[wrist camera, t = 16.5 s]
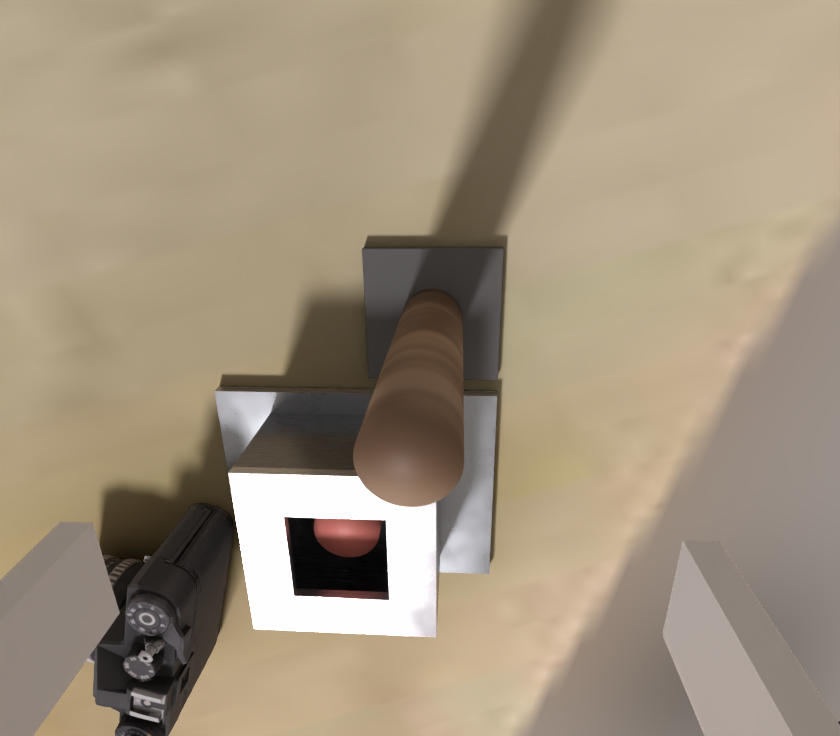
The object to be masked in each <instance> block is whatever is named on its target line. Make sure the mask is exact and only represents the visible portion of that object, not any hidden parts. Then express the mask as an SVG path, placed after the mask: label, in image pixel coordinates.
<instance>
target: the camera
mask: <svg viewBox="0 0 840 736" xmlns="http://www.w3.org/2000/svg"><path fill="white" fill-rule="evenodd" d="M233 529H234V523H233V520H232V518H231V517H230V515H229V514H228V513H227V512H226V511H224V510H223V509H221V508H219V507H216V506H212V505H209V504H205V503H198V504H194V505H193V506H190V507H189V510H188V511H187V513H186V514H185V515H184V517H183V518H182V520H181V521H180V522H179V523H178V524H177V525H176V527H175V528H174V529H173V531H172V532H171V533H170V534H169V536H168V537H167V538H166V539H165V541H164V542H163V543H162V544H161V546H160V547H159V548H158V549H157V551H156V552H155V553H154V554H153V555H152V556H145V557H144V560H143V562H145V563H143V562H142V561H141V560H137V559H132V558H129V559H118V558H117V557H115V556H111V555H103V559H104V562H105V566H106V569H107V572H108V576H109V579H110V582H111V586H112V589H113V592H114V595H115V599H116V602H117V605H118V609H119V612H120V614H119V615H118V616H117V618H116V619H115V621H114V622H113V623H112V625H111V626H110V628H109V629H108V631H107V632H106V633H105V635H104V636H103V638H102V639H101V640H100V642H99V643H98V645H97V646H96V648H95V649H94V650H93V652H92V653H91V655H90V656H89V657H88V659H87V660H86V661H88V662H92V663H94V684H93V696H94V697H95V702H96V705H100V706H104V707H111V708H113V709H115V710H117V711H119V712H120V722H119V725H118V727H117V728H116V730H115V736H168V735H169V733H170V732H171V730H172V728H173V726H174V724H175V723H176V721H177V719H178V717H179V715H180V712H181V710H182V708H183V706H184V704H185V702H186V700H187V698H188V697H189V695H190V693H191V691H192V689H193V687H194V685H195V683H196V681H197V679H198V678H199V676H200V674H201V672H202V670H203V668H204V666H205V664H206V662H207V660H208V658H209V656H210V655H211V653H212V650H213V648H214V646H215V644H216V641H217V637H218V633H219V625H220V619H221V611H222V605H223V598H224V593H225V586H226V580H227V573H228V567H229V560H230V554H231V546H232V539H233ZM147 559H148V560H147Z"/></svg>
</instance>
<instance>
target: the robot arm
mask: <svg viewBox="0 0 840 736" xmlns="http://www.w3.org/2000/svg"><path fill="white" fill-rule="evenodd" d="M119 614H120V612H119V609H118V605H117V602H116V599H115V595H114V592H113V589H112V586H111V582H110V579H109V576H108V572H107V569H106V566H105V562H104V559H103V556H102V552H101V549H100V546H99V542H98V539H97V536H96V532H95V529H94V526H93V523H83V522H60V523H59V524H58V525H57V526H56V527H55V528H54V529H53V530H52V531H51V532H49V533H48V534H47V535H46V536H45V537H44V538H43V539H42V540H41V541H40V542H39V543H38V544H37V545H36V546H35V547H34V548H33V549H32V550H31V551H30V552H29V553H28V554H27V555H26V556H25V557H24V558H23V559H22V560H21V561H20V562H19V563H18V564H17V565H16V566H15V567H13V568H12V569H11V570H10V571H9V572H8V573H7V574H6V575H5V576H4V577H3V578H2V579H1V580H0V736H33V735H34V734H35V733H36V731H37V730H38V728H39V727H40V725H41V724H42V723H43V721H44V720H45V718H46V717H47V716H48V714H49V713H50V711H51V710H52V708H53V707H54V706H55V704H56V703H57V701H58V700H59V699H60V697H61V696H62V694H63V693H64V691H65V690H66V689H67V687H68V686H69V684H70V683H71V682H72V680H73V679H74V677H75V676H76V674H77V673H78V672H79V670H80V669H81V667H82V666H83V665H84V663H85V662H86V660H87V659H88V657H89V656H90V655H91V653H92V652H93V650H94V649H95V648H96V646H97V645H98V643H99V642H100V640H101V639H102V638H103V636H104V635H105V633H106V632H107V631H108V629H109V628H110V626H111V625H112V623H113V622H114V621H115V619H116V618H117V616H118V615H119ZM663 637H664V639H665V642H666V644H667V647H668V649H669V652H670V654H671V656H672V659H673V661H674V664H675V666H676V669H677V671H678V673H679V675H680V678H681V680H682V683H683V685H684V688H685V690H686V692H687V695H688V697H689V700H690V702H691V704H692V707H693V709H694V712H695V714H696V717H697V719H698V721H699V724H700V726H701V729H702V731H703V733H704V736H840V722H838V721H837V720H836V718H835V717H834V715H833V714H832V712H831V711H830V709H829V708H828V706H827V705H826V703H825V701H824V700H823V698H822V697H821V696H820V694H819V692H818V691H817V689H816V688H815V686H814V685H813V683H812V682H811V680H810V678H809V677H808V675H807V674H806V673H805V671H804V669H803V668H802V666H801V665H800V663H799V662H798V660H797V659H796V657H795V656H794V654H793V652H792V651H791V650H790V648H789V647H788V645H787V643H786V642H785V640H784V639H783V637H782V636H781V634H780V633H779V631H778V630H777V628H776V626H775V625H774V623H773V622H772V620H771V619H770V617H769V616H768V614H767V613H766V611H765V610H764V608H763V607H762V605H761V604H760V602H759V601H758V599H757V598H756V596H755V594H754V593H753V591H752V590H751V588H750V587H749V585H748V584H747V582H746V581H745V579H744V578H743V576H742V574H741V573H740V571H739V570H738V569H737V567H736V565H735V564H734V562H733V561H732V559H731V558H730V556H729V555H728V553H727V552H726V550H725V549H724V547H723V546H722V544H721V542H720V541H691V540H688V541H687V540H683V543H682V547H681V552H680V556H679V561H678V566H677V570H676V575H675V579H674V584H673V588H672V593H671V598H670V603H669V607H668V611H667V616H666V621H665V625H664V630H663Z"/></svg>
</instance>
